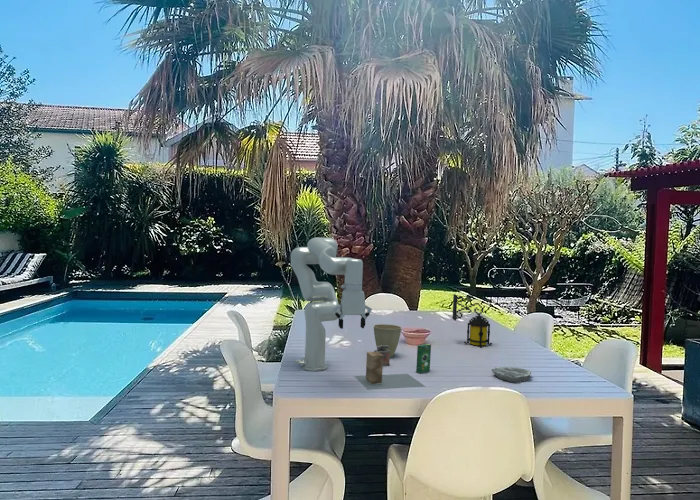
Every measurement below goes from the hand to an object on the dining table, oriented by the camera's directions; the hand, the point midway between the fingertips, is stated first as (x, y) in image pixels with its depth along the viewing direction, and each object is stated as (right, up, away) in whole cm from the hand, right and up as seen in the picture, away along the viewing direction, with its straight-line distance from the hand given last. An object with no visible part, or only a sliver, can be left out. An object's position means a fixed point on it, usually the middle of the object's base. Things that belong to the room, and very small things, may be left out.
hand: (351, 328), depth 219 cm
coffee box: (+34, -25, +26) cm, 50 cm away
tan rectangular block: (+10, -24, +4) cm, 26 cm away
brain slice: (+75, -27, +23) cm, 83 cm away
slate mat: (+16, -25, +6) cm, 30 cm away
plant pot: (+19, -24, +55) cm, 63 cm away
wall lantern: (+73, -25, +93) cm, 121 cm away
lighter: (+15, -24, +35) cm, 45 cm away
